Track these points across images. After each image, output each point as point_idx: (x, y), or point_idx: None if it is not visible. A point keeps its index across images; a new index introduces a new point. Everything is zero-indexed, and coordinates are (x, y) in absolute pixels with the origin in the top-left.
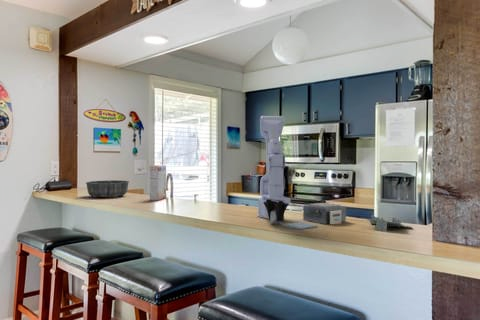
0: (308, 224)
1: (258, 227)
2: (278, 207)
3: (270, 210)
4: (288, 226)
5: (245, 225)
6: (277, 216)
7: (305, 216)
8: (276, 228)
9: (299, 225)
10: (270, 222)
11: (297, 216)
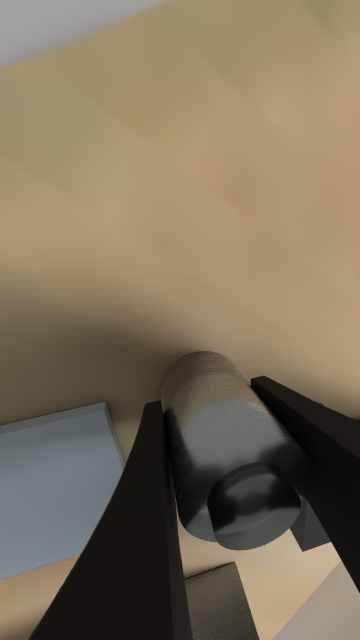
0: (32, 555)
1: (114, 155)
2: (40, 624)
3: (320, 454)
4: (29, 423)
5: (275, 84)
6: (141, 434)
7: (227, 599)
8: (4, 304)
9: (7, 499)
10: (222, 359)
11: (325, 560)
